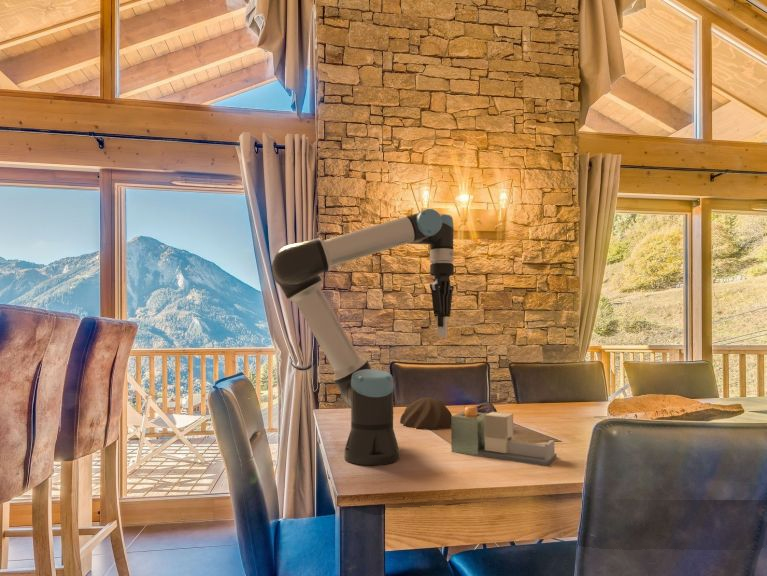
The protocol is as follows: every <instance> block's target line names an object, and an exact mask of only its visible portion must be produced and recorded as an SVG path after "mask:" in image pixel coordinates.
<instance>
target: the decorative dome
mask: <svg viewBox="0 0 767 576" xmlns="http://www.w3.org/2000/svg"><path fill="white" fill-rule="evenodd" d="M451 416H453V415H452V412H451V411H450V410H449V409H448V408H447V406H446V405H445V404H444V403H443V402H441V401H440V400H438V399H436V398H434V397H430V396H427V397H426V396H425V397H424V396H423V397H421V398H418V399H416V400H414V401H412V402H410V403H409V404H408V405H407V406H406V408H405V409H404V412H403V413H402V414H401V416H400V422H399V423H400V424H402V426H403V427H404V426H406V427H405V428H411V427H412V429H414V428H416V429H415V430H432V429H435V430H439V429H438V428H440V429H449V428H450V427H451V426H450V425H451Z"/></svg>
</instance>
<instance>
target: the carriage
mask: <svg viewBox="0 0 767 576" xmlns="http://www.w3.org/2000/svg"><path fill="white" fill-rule="evenodd" d="M507 439H509V440H514V413H509V412H502V411H501V412H500V411H497V412H491V413H489V414H486V415H485V450H486V451H493V452H500V453H507V452H508V441H507Z"/></svg>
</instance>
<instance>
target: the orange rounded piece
mask: <svg viewBox="0 0 767 576" xmlns="http://www.w3.org/2000/svg"><path fill="white" fill-rule="evenodd" d="M464 411H465V416H470V417H477V407H475V406H471V405H470V406H464Z"/></svg>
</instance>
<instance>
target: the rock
mask: <svg viewBox="0 0 767 576" xmlns="http://www.w3.org/2000/svg"><path fill="white" fill-rule="evenodd" d="M474 407H477V412H478V413H488V414H489V413H491V412H498V410H497V409H496V408H495V405H494V404H493V403H490V402H482V403H480V404H478V405H476V406H474Z"/></svg>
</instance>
